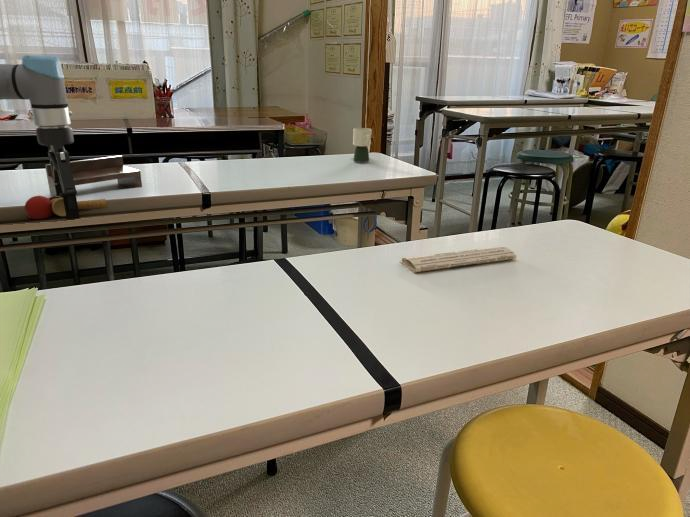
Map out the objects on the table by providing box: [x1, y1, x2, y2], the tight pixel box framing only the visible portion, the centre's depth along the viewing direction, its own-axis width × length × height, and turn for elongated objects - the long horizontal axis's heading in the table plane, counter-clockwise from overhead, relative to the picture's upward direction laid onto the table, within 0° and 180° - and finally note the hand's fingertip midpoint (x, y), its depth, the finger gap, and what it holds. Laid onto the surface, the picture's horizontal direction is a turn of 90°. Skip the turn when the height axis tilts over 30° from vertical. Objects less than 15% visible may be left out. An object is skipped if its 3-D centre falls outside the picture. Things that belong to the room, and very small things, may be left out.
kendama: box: [24, 195, 108, 220], centre depth 126 cm, size 8×6×18 cm
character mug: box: [352, 127, 372, 163], centre depth 203 cm, size 11×7×13 cm, turn 27°
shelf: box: [44, 155, 143, 196], centre depth 149 cm, size 22×11×8 cm, turn 140°
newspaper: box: [399, 245, 517, 273], centre depth 105 cm, size 24×7×2 cm, turn 112°
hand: (69, 215), depth 127 cm, fingers open, 12 cm apart
